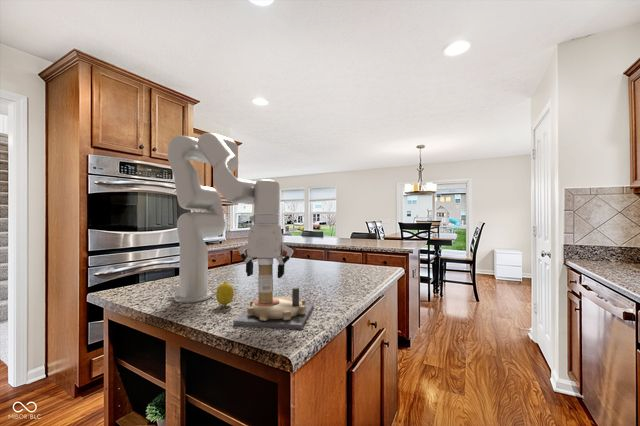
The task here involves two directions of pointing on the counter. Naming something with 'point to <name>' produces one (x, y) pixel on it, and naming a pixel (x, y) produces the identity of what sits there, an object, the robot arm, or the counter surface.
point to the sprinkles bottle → (265, 280)
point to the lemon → (224, 294)
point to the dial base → (275, 320)
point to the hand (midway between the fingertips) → (264, 276)
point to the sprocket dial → (278, 307)
